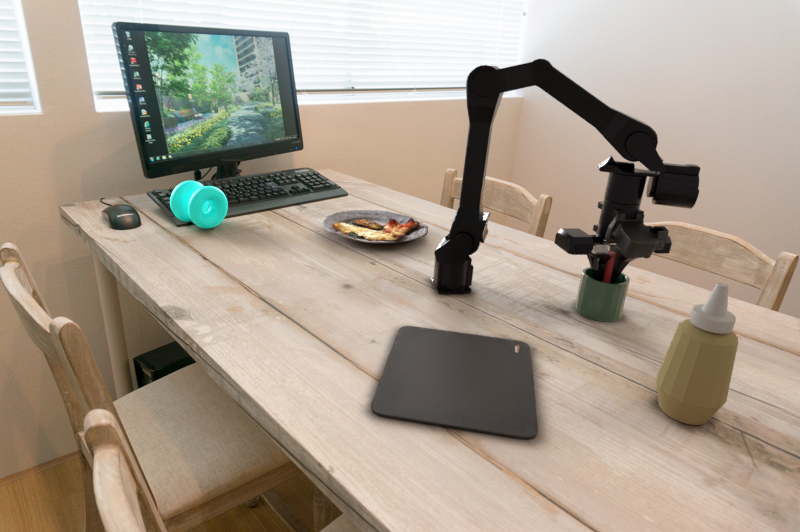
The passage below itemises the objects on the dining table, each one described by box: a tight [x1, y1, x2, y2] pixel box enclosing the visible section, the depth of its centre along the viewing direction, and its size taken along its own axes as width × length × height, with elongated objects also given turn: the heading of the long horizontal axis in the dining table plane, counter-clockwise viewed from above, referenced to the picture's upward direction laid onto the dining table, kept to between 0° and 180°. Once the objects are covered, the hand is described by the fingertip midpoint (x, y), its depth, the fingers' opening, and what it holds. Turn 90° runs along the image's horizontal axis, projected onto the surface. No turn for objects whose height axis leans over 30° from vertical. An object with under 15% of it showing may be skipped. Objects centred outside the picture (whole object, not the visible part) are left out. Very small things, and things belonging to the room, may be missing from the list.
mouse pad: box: [370, 325, 539, 440], centre depth 73 cm, size 23×20×1 cm
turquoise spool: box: [169, 180, 229, 230], centre depth 125 cm, size 10×10×10 cm
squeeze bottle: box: [655, 282, 739, 426], centre depth 65 cm, size 8×8×18 cm
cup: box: [574, 266, 631, 323], centre depth 93 cm, size 8×8×7 cm
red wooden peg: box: [602, 250, 616, 283], centre depth 92 cm, size 2×2×9 cm
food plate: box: [321, 209, 429, 245], centre depth 126 cm, size 25×23×4 cm
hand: (603, 286), depth 93 cm, fingers closed on red wooden peg, 2 cm apart
